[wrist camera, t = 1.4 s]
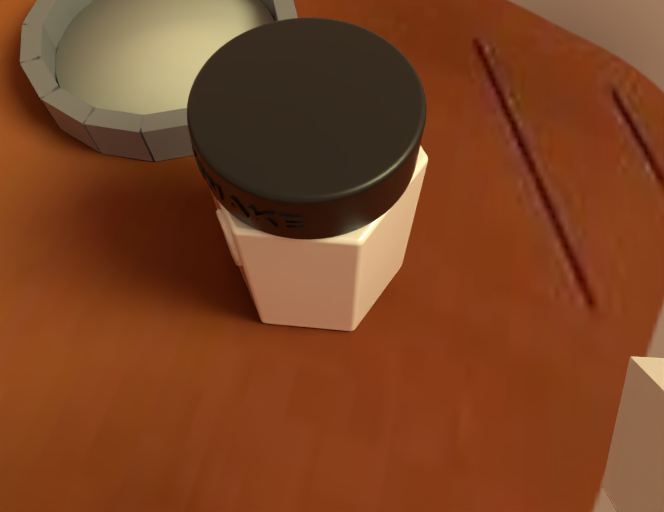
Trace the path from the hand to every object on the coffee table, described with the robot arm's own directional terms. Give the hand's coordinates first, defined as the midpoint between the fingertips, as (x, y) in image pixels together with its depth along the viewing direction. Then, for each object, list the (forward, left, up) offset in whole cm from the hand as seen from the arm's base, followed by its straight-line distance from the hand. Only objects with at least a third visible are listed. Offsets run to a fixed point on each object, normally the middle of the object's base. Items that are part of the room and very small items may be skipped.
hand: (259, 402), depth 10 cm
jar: (-6, +9, -16) cm, 19 cm away
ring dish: (-22, +16, -16) cm, 31 cm away
